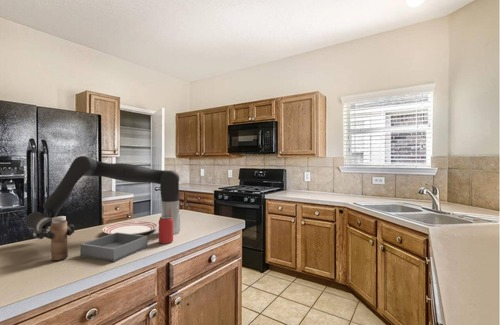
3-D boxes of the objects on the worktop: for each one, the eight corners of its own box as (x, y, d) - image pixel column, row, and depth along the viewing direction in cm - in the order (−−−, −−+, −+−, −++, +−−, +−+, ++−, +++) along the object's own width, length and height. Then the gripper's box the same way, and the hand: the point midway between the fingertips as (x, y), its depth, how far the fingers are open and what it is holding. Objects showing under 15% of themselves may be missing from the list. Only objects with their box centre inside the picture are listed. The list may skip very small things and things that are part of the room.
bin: (116, 242, 122) (116, 232, 122) (147, 247, 116) (147, 236, 116) (80, 256, 105) (80, 244, 105) (114, 262, 99) (113, 249, 99)
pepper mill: (61, 254, 106) (61, 215, 105) (70, 256, 104) (70, 216, 104) (48, 259, 101) (47, 218, 101) (57, 261, 99) (56, 219, 99)
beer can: (174, 239, 127) (174, 215, 127) (171, 244, 120) (171, 218, 120) (161, 239, 127) (161, 215, 127) (156, 244, 120) (156, 218, 120)
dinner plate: (166, 226, 153) (166, 220, 153) (142, 241, 126) (142, 234, 126) (122, 225, 156) (122, 219, 156) (89, 239, 129) (89, 232, 129)
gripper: (27, 221, 106) (37, 229, 95) (69, 215, 117) (82, 221, 106) (28, 240, 106) (38, 249, 95) (69, 232, 117) (82, 239, 106)
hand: (61, 234), depth 101 cm, fingers closed on pepper mill, 5 cm apart
